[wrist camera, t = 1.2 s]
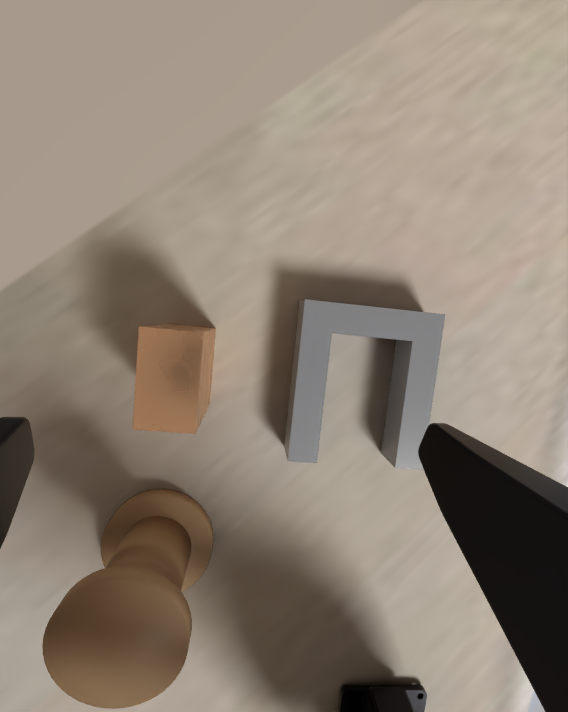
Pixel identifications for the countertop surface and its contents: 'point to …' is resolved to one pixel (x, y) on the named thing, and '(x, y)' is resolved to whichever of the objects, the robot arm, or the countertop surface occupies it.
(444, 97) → the countertop surface
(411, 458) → the grey u-shaped frame
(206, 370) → the orange tan block
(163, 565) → the knob
